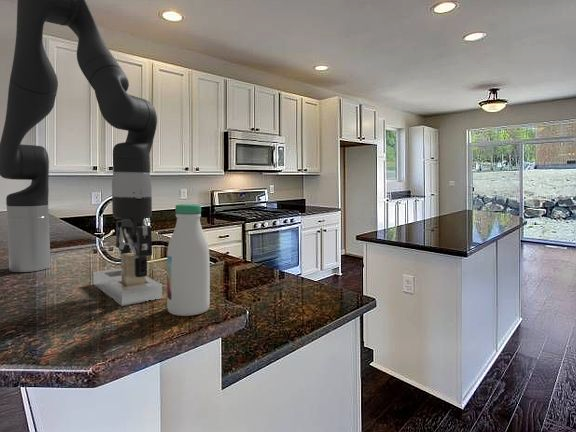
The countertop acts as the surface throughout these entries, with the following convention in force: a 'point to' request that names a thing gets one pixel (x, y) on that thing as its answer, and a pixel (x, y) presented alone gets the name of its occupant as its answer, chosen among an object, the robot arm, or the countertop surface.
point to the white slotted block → (126, 288)
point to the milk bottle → (188, 264)
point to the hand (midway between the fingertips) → (133, 272)
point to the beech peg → (130, 271)
